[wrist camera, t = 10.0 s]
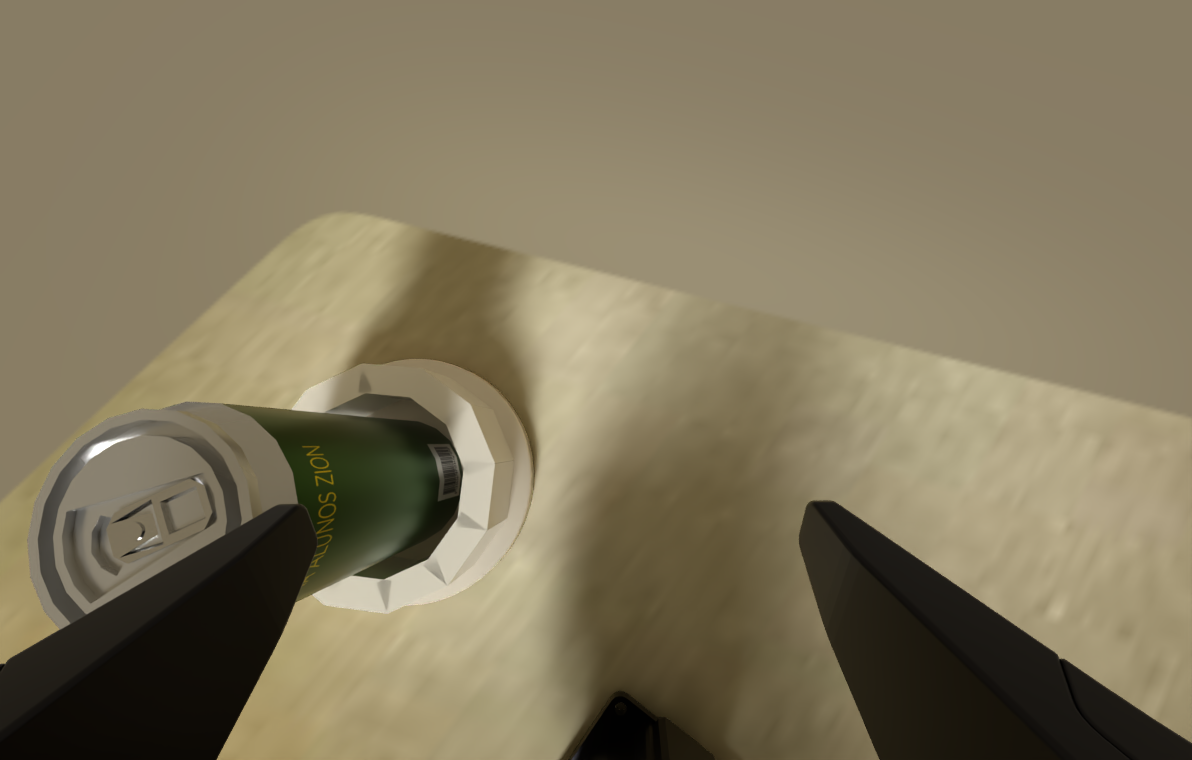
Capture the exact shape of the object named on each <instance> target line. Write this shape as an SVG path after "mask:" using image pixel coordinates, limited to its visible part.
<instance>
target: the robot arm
mask: <svg viewBox="0 0 1192 760" xmlns="http://www.w3.org/2000/svg"><path fill="white" fill-rule="evenodd" d="M799 545H800V549H801V553H802V556H803V559H804V562H805V566H806V569H807V572H808V576H809V579H810V582H811V585H812V589H813V592H814V595H815V599H816V602H817V605H818V608H819V612H820V615H821V618H822V621H823V624H824V627H825V630H826V633H827V636H828V638H829V641H830V643H831V646H832V648H833V650H834V653H835V655H836V658H837V660H838V662H839V665H840V667H841V669H842V672H843V674H844V677H845V679H846V681H847V684H848V686H849V688H850V691H851V693H852V695H853V698H854V700H855V703H856V705H857V707H858V710H859V712H860V714H861V717H862V719H863V722H864V724H865V726H866V729H867V731H868V733H869V736H870V738H871V740H872V743H873V745H874V748H875V750H876V752H877V755H878V757H879V759H880V760H1192V743H1191V742H1189V741H1188V740H1186V739H1184V738H1183V737H1181V736H1180V735H1178V734H1177V733H1175V732H1173V731H1172V730H1170V729H1169V728H1167V727H1165V726H1164V725H1162V724H1161V723H1159V722H1158V721H1156V720H1154V719H1153V718H1151V717H1150V716H1148V715H1147V714H1145V713H1144V712H1142V711H1141V710H1139V709H1138V708H1136V707H1135V706H1133V705H1132V704H1130V703H1129V702H1127V701H1126V700H1124V699H1123V698H1121V697H1120V696H1118V695H1117V694H1115V693H1114V692H1112V691H1111V690H1109V689H1108V688H1106V687H1105V686H1103V685H1102V684H1100V683H1099V682H1097V681H1096V680H1094V679H1093V678H1092V677H1090V676H1089V675H1087V674H1086V673H1084V672H1083V671H1081V670H1080V669H1078V668H1077V667H1075V666H1074V665H1073V664H1071V663H1070V662H1068V661H1067V660H1065V659H1059V657H1058V655H1057V654H1056V653H1055V652H1053V651H1052V650H1050V649H1049V648H1048V647H1046V646H1045V645H1043V644H1042V643H1040V642H1039V641H1037V640H1036V639H1034V638H1033V637H1031V636H1030V635H1029V634H1027V633H1026V632H1024V631H1023V630H1021V629H1020V628H1018V627H1017V626H1015V625H1014V624H1013V623H1011V622H1010V621H1008V620H1007V619H1005V618H1004V617H1002V616H1001V615H999V614H998V613H996V612H995V611H994V610H992V609H991V608H989V607H988V606H986V605H985V604H983V603H982V602H980V601H979V600H978V599H976V598H975V597H973V596H972V595H970V594H969V593H967V592H966V591H964V590H963V589H962V588H960V587H959V586H957V585H956V584H954V583H953V582H951V581H950V580H948V579H947V578H945V577H944V576H943V575H941V574H940V573H938V572H937V571H935V570H934V569H932V568H931V567H929V566H928V565H927V564H925V563H924V562H922V561H921V560H919V559H918V558H916V557H915V556H913V555H912V554H910V553H909V552H908V551H906V550H905V549H903V548H902V547H900V546H899V545H897V544H896V543H894V542H893V541H892V540H890V539H889V538H887V537H886V536H884V535H883V534H881V533H880V532H878V531H877V530H875V529H874V528H873V527H871V526H870V525H868V524H867V523H865V522H864V521H862V520H861V519H859V518H858V517H857V516H855V515H854V514H852V513H851V512H849V511H848V510H846V509H845V508H843V507H842V506H841V505H839V504H838V503H836V502H834V501H811V502H809V503H808V504H807V506H806V510H805V514H804V518H803V521H802V525H801V529H800V534H799ZM317 546H318V538H317V534H316V532H315V529H314V526H313V524H312V521H311V518H310V516H309V513H308V510H307V508H306V507H305V506H304V505H302V504H279V505H276V506H274V507H272V508H270V509H269V510H267V511H265V512H263V513H262V514H260V515H258V516H256V517H255V518H253V519H251V520H249V521H248V522H246V523H244V524H243V525H241V526H239V527H237V528H236V529H234V530H232V531H230V532H229V533H227V534H225V535H223V536H222V537H220V538H218V539H216V540H215V541H213V542H211V543H210V544H208V545H206V546H204V547H203V548H201V549H199V550H197V551H196V552H194V553H192V554H190V555H189V556H187V557H185V558H183V559H182V560H180V561H178V562H177V563H175V564H173V565H171V566H170V567H168V568H166V569H164V570H163V571H161V572H159V573H157V574H156V575H154V576H152V577H150V578H149V579H147V580H145V581H144V582H142V583H140V584H138V585H137V586H135V587H133V588H131V589H130V590H128V591H126V592H124V593H123V594H121V595H119V596H118V597H116V598H114V599H112V600H111V601H109V602H107V603H105V604H104V605H102V606H100V607H98V608H97V609H95V610H93V611H91V612H90V613H88V614H86V615H85V616H83V617H81V618H79V619H78V620H76V621H74V622H72V623H71V624H69V625H67V626H65V627H64V628H62V629H60V630H58V631H57V632H55V633H53V634H52V635H50V636H48V637H46V638H45V639H43V640H41V641H39V642H38V643H36V644H34V645H32V646H31V647H29V648H27V649H25V650H24V651H22V652H20V653H19V654H17V655H15V656H13V657H12V658H10V659H9V660H8V661H7V662H6V664H0V760H217V758H218V756H219V754H220V752H221V750H222V748H223V746H224V744H225V742H226V741H227V739H228V737H229V735H230V733H231V731H232V729H233V727H234V725H235V723H236V721H237V720H238V718H239V716H240V714H241V712H242V710H243V708H244V706H245V704H246V702H247V701H248V699H249V697H250V695H251V693H252V691H253V689H254V687H255V685H256V683H257V681H258V680H259V678H260V676H261V674H262V672H263V670H264V668H265V666H266V664H267V662H268V661H269V659H270V657H271V655H272V653H273V651H274V649H275V647H276V645H277V643H278V641H279V639H280V637H281V635H282V633H283V631H284V628H285V626H286V624H287V622H288V619H289V617H290V614H291V612H292V609H293V607H294V605H295V602H296V600H297V597H298V595H299V592H300V590H301V587H302V585H303V583H304V580H305V578H306V575H307V573H308V570H309V568H310V565H311V563H312V560H313V558H314V556H315V553H316V550H317ZM620 702H622V703H624V704H625V705H626V708H625V709H624V710H619V709H617V708H616V706H615V705H616V704H617V703H620ZM569 760H715V758H714V756H713V755H712V754H711V753H710V752H709V751H707V750H706V749H705V748H704V747H702V746H701V745H700V744H699V743H697V742H696V741H695V740H694V739H692V738H691V737H690V736H689V735H687V734H686V733H685V732H684V731H682V730H681V729H680V728H679V727H677V726H676V725H675V724H674V723H672V722H671V721H670V720H669V719H667V718H666V717H659V718H657V717H656V716H655V715H653V714H652V713H651V712H650V711H649V710H647V709H646V708H645V707H644V706H642V705H641V704H640V703H639V702H637V701H636V700H635V699H634V698H632V697H631V696H630V695H629V694H627V693H625V692H622V691H618V692H616V693H614V694H613V695H612V696H611V697H610V699H609V700H608V702H607V703H606V705H605V706H604V708H603V709H602V711H601V712H600V714H599V715H598V717H597V718H596V720H595V721H594V723H593V724H592V726H591V727H590V729H589V730H588V732H587V733H586V734H585V736H584V737H583V739H582V740H581V742H580V743H579V745H578V746H577V748H576V749H575V751H574V752H573V754H572V755H571V757H570V758H569Z"/></svg>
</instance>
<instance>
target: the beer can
mask: <svg viewBox="0 0 1192 760" xmlns="http://www.w3.org/2000/svg"><path fill="white" fill-rule="evenodd" d="M462 479H463V471H462V466H461V462H460V458H459V456H458V454H457V452H456V450H455V448H454V447H453V445H452V443H451V442H450V440H449V439H448V438H446V437H445V436H444V435H443V434H442V433H441V432H440V431H438V430H437V429H436V428H434V427H431V426H429V425H426V424H424V423H422V422H419V421H408V420H397V419H386V418H375V417H364V416H353V415H342V414H330V413H319V412H308V411H297V410H286V409H275V408H264V407H253V406H242V405H231V404H220V403H201V402H184V403H180V404H177V405H173V406H170V407H166V408H162V409H159V410H156V409H139V410H135V411H132V412H128V413H125V414H121V415H117V416H114V417H110V418H107V419H106V420H104V421H103V422H101V423H100V424H98V425H97V426H95V427H94V428H92V429H90V430H89V431H87V432H86V433H84V434H83V435H81V436H80V437H78V438H77V439H76V440H75V441H74V442H73V443H72V445H71V446H70V447H69V448H68V449H67V450H66V451H65V453H64V454H63V455H62V456H61V457H60V458H59V459H58V461H57V462H56V463H55V464H54V465H53V466H52V468H51V470H50V472H49V474H48V476H47V478H46V480H45V482H44V484H43V486H42V488H41V490H40V492H39V494H38V496H37V498H36V500H35V504H34V509H33V514H32V519H31V524H30V529H29V534H28V539H27V542H28V554H29V566H30V578H31V580H32V583H33V585H34V588H35V590H36V592H37V595H38V597H39V600H40V602H41V605H42V607H43V610H44V612H45V613H46V614H47V615H48V616H49V618H50V619H51V620H52V621H53V622H54V623H55V624H56V625H57V627H58V628H59V629H62V628H64V627H65V626H67V625H69V624H71V623H72V622H74V621H76V620H78V619H79V618H81V617H83V616H85V615H86V614H88V613H90V612H91V611H93V610H95V609H97V608H98V607H100V606H102V605H104V604H105V603H107V602H109V601H111V600H112V599H114V598H116V597H118V596H119V595H121V594H123V593H124V592H126V591H128V590H130V589H131V588H133V587H135V586H137V585H138V584H140V583H142V582H144V581H145V580H147V579H149V578H150V577H152V576H154V575H156V574H157V573H159V572H161V571H163V570H164V569H166V568H168V567H170V566H171V565H173V564H175V563H177V562H178V561H180V560H182V559H183V558H185V557H187V556H189V555H190V554H192V553H194V552H196V551H197V550H199V549H201V548H203V547H204V546H206V545H208V544H210V543H211V542H213V541H215V540H216V539H218V538H220V537H222V536H223V535H225V534H227V533H229V532H230V531H232V530H234V529H236V528H237V527H239V526H241V525H243V524H244V523H246V522H248V521H249V520H251V519H253V518H255V517H256V516H258V515H260V514H262V513H263V512H265V511H267V510H269V509H270V508H272V507H274V506H276V505H279V504H302V505H304V506H305V507H306V508H307V510H308V513H309V516H310V518H311V521H312V524H313V526H314V529H315V532H316V534H317V538H318V546H317V550H316V553H315V556H314V558H313V560H312V563H311V565H310V568H309V570H308V573H307V575H306V578H305V580H304V583H303V585H302V587H301V590H300V592H299V595H298V597H297V600H296V602H297V601H299V600H301V599H304V598H306V597H308V596H310V595H312V594H314V593H316V592H318V591H320V590H322V589H324V588H327V587H329V586H331V585H333V584H335V583H337V582H339V581H341V580H343V579H345V578H347V577H350V576H352V575H354V574H356V573H358V572H360V571H362V570H364V569H366V568H368V567H371V566H373V565H375V564H377V563H379V562H381V561H383V560H385V559H387V558H389V557H391V556H394V555H396V554H398V553H400V552H402V551H404V550H406V549H408V548H410V547H412V546H414V545H417V544H419V543H421V542H423V541H425V540H427V539H428V538H430V537H431V536H433V535H434V534H436V533H437V532H439V531H440V530H442V529H443V527H444V526H445V525H446V524H447V522H448V521H449V520H450V519H451V518H452V516H453V515H454V514H455V511H456V509H457V506H458V504H459V501H460V495H461V487H462Z"/></svg>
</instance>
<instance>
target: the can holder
mask: <svg viewBox="0 0 1192 760" xmlns="http://www.w3.org/2000/svg"><path fill="white" fill-rule="evenodd" d="M291 410H297V411H308V412H319V413H330V414H342V415H353V416H364V417H375V418H386V419H397V420H408V421H419V422H422V423H424V424H426V425H429V426H431V427H434V428H436V429H437V430H438V431H440V432H441V433H442V434H443V435H444V436H445V437H446V438H448V439H449V440H450V442H451V443H452V445H453V447H454V448H455V450H456V452H457V454H458V456H459V458H460V462H461V466H462V471H463V479H462V487H461V495H460V501H459V504H458V506H457V509H456V511H455V514H454V515H453V516H452V518H451V519H450V520H449V521H448V522H447V524H446V525H445V526H444V527H443V529H442V530H440V531H439V532H437V533H436V534H434V535H433V536H431V537H430V538H428V539H427V540H425V541H423V542H421V543H419V544H417V545H414V546H412V547H410V548H408V549H406V550H404V551H402V552H400V553H398V554H396V555H394V556H391V557H389V558H387V559H385V560H383V561H381V562H379V563H377V564H375V565H373V566H371V567H368V568H366V569H364V570H362V571H360V572H358V573H356V574H354V575H352V576H350V577H347V578H345V579H343V580H341V581H339V582H337V583H335V584H333V585H331V586H329V587H327V588H324V589H322V590H320V591H318V592H316V593H314V594H312V595H313V596H314V597H315V598H316V599H318V600H319V601H320V602H321V603H322V604H323V605H326V606H333V607H340V608H348V609H355V610H362V611H370V612H377V613H385V614H388V613H390V612H392V611H394V610H397V609H399V608H401V607H403V606H405V605H407V606H409V605H421V604H427V603H432V602H436V601H440V600H443V599H445V598H448V597H451V596H453V595H456V594H458V593H459V592H461V591H463V590H465V589H467V588H469V587H470V586H471V585H473V584H474V583H476V582H477V581H478V580H480V579H481V578H482V577H484V576H485V575H486V574H487V573H488V572H489V571H490V570H491V569H492V568H493V567H494V566H495V565H496V564H497V563H499V562H500V561H501V560H502V558H503V557H504V556H505V555H506V553H507V552H508V551H509V550H510V548H511V547H512V545H513V544H514V542H515V540H516V539H517V537H518V536H519V534H520V532H521V529H522V527H523V525H524V523H525V521H526V518H527V514H528V511H529V508H530V505H531V499H532V494H533V486H534V466H533V456H532V451H531V446H530V442H529V439H528V436H527V433H526V431H525V428H524V426H523V424H522V422H521V420H520V418H519V416H518V414H517V413H516V411H515V410H514V408H513V407H512V405H511V404H510V403H509V401H508V400H507V399H506V398H505V397H504V396H503V395H502V394H501V393H500V392H499V391H498V390H497V389H496V388H495V387H494V386H492V385H491V384H490V383H489V382H487V381H486V380H484V379H483V378H481V377H479V376H478V375H476V374H474V373H472V372H469V371H467V370H465V369H463V368H460V367H458V366H456V365H452V364H449V363H446V362H442V361H437V360H430V359H405V360H397V361H393V362H389V363H385V364H382V365H378V364H366V363H362V364H359V365H357V366H355V367H353V368H351V369H349V370H347V371H344V372H342V373H340V374H338V375H336V376H334V377H332V378H330V379H327V380H325V381H323V382H321V383H319V384H317V385H315V386H313V387H310V388H308V389H306V391H305V392H304V393H303V395H302V396H301V397H300V399H299V400H298V401H297V403H296V404H295V405H294V407H293V408H292V409H291Z"/></svg>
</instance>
